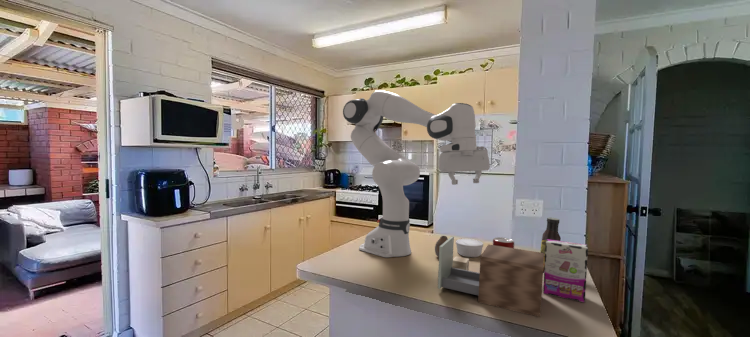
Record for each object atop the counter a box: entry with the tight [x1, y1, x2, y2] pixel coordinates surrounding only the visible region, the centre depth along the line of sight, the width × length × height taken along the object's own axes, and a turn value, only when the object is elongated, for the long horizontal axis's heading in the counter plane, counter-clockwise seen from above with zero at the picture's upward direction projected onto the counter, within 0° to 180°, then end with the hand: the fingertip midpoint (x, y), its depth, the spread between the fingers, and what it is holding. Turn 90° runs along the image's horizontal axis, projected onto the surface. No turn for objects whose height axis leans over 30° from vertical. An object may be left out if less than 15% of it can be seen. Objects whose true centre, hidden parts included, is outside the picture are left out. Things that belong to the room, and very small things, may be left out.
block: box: [453, 256, 470, 271], centre depth 115 cm, size 5×5×5 cm
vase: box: [434, 235, 449, 259], centre depth 131 cm, size 7×7×9 cm
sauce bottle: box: [539, 217, 562, 272], centre depth 119 cm, size 7×6×20 cm
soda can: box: [492, 236, 515, 248], centre depth 117 cm, size 7×7×12 cm
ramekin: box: [455, 238, 484, 258], centre depth 137 cm, size 11×11×5 cm
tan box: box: [477, 244, 544, 318], centre depth 95 cm, size 16×14×14 cm
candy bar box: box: [542, 239, 589, 303], centre depth 99 cm, size 11×5×16 cm, turn 58°
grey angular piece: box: [437, 236, 480, 297], centre depth 101 cm, size 15×14×13 cm
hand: (465, 183), depth 119 cm, fingers open, 8 cm apart
